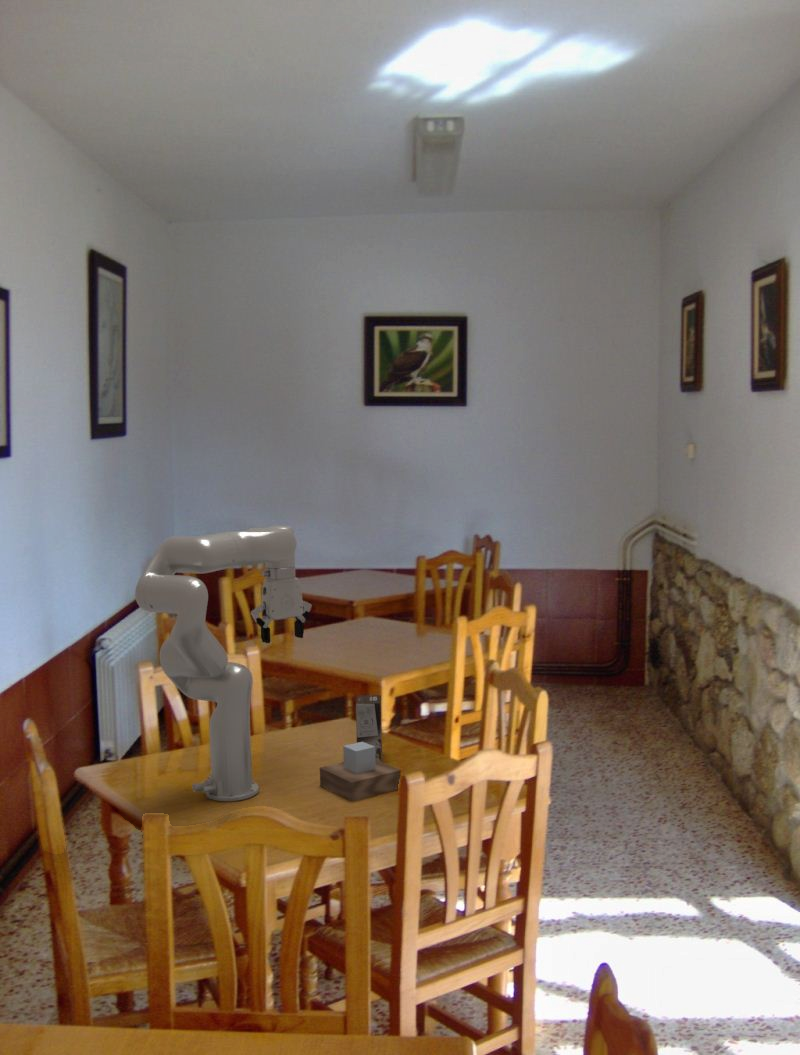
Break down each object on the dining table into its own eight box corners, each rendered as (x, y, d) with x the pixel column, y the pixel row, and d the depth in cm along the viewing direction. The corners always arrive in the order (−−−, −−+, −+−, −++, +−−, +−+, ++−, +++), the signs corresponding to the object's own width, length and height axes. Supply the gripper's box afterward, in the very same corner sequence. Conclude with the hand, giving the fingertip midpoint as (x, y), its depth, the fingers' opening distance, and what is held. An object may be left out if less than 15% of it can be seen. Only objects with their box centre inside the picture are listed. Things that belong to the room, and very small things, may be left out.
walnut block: (352, 803, 247) (351, 782, 246) (320, 787, 258) (319, 767, 258) (401, 790, 255) (400, 770, 255) (367, 775, 266) (367, 756, 266)
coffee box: (381, 764, 273) (380, 703, 272) (356, 765, 274) (355, 703, 272) (383, 753, 282) (381, 694, 281) (358, 754, 283) (357, 694, 281)
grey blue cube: (356, 773, 253) (355, 751, 252) (343, 768, 257) (343, 746, 256) (375, 769, 256) (375, 746, 255) (362, 763, 260) (362, 741, 260)
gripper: (257, 578, 264) (260, 646, 266) (317, 572, 275) (319, 637, 276) (243, 575, 270) (245, 642, 272) (302, 569, 281) (304, 633, 282)
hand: (282, 639), depth 274 cm, fingers open, 9 cm apart
